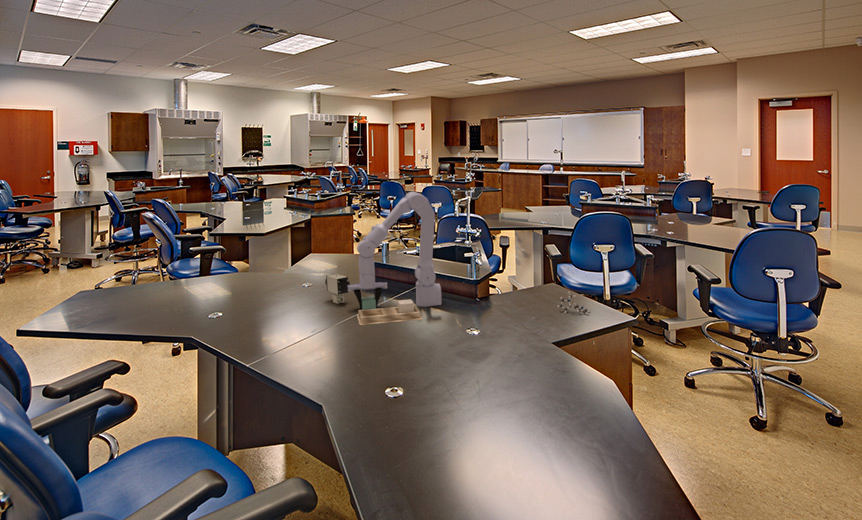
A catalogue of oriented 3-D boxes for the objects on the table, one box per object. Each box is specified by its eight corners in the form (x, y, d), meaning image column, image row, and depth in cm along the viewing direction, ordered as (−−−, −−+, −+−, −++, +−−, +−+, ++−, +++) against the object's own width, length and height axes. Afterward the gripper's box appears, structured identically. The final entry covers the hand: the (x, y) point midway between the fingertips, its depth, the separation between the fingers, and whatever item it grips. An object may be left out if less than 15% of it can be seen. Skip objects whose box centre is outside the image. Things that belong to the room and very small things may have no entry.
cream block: (411, 312, 182) (411, 299, 181) (414, 316, 177) (413, 303, 176) (397, 313, 181) (397, 300, 180) (400, 317, 176) (399, 304, 175)
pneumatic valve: (341, 306, 195) (339, 277, 193) (325, 301, 204) (324, 272, 201) (353, 304, 199) (351, 274, 196) (337, 298, 207) (336, 270, 205)
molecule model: (588, 322, 177) (597, 301, 178) (556, 309, 179) (564, 288, 180) (585, 322, 183) (593, 302, 184) (554, 309, 185) (562, 289, 186)
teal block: (374, 309, 191) (374, 296, 190) (376, 313, 186) (375, 300, 185) (361, 310, 190) (360, 297, 189) (362, 314, 185) (362, 301, 184)
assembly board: (416, 312, 186) (416, 304, 185) (423, 322, 175) (423, 313, 174) (356, 317, 181) (356, 309, 181) (360, 328, 170) (359, 319, 169)
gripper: (384, 269, 190) (386, 303, 193) (346, 271, 187) (348, 306, 190) (387, 273, 184) (389, 308, 186) (347, 276, 181) (349, 312, 183)
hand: (368, 308), depth 188 cm, fingers closed on teal block, 5 cm apart
